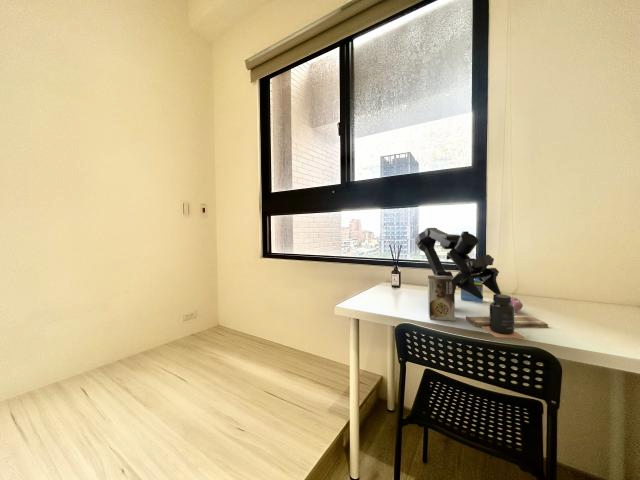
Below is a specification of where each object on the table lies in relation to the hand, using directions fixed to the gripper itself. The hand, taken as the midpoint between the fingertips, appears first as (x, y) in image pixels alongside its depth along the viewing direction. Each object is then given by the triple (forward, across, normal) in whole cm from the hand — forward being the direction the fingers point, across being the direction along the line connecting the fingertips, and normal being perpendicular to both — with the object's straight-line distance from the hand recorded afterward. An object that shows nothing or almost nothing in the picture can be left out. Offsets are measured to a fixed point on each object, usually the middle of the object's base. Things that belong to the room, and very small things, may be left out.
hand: (491, 296), depth 89 cm
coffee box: (-3, -7, +19) cm, 20 cm away
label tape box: (-10, +24, +26) cm, 37 cm away
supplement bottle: (+10, 0, +5) cm, 11 cm away
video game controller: (+2, +24, +14) cm, 28 cm away
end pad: (+11, 0, +5) cm, 12 cm away
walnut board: (+7, +9, +8) cm, 14 cm away
